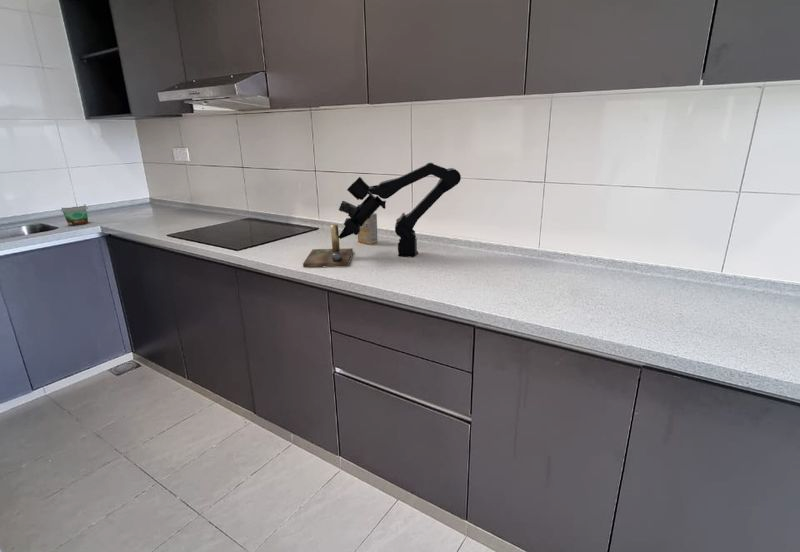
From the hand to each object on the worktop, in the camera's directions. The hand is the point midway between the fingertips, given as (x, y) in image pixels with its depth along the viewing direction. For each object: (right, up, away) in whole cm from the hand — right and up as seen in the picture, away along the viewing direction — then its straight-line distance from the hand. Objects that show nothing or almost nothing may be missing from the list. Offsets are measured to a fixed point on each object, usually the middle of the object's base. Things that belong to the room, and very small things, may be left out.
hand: (339, 237), depth 167 cm
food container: (-152, +14, +72) cm, 169 cm away
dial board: (-4, -8, -1) cm, 9 cm away
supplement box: (+9, 0, +21) cm, 23 cm away
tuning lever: (-1, -7, -3) cm, 7 cm away
